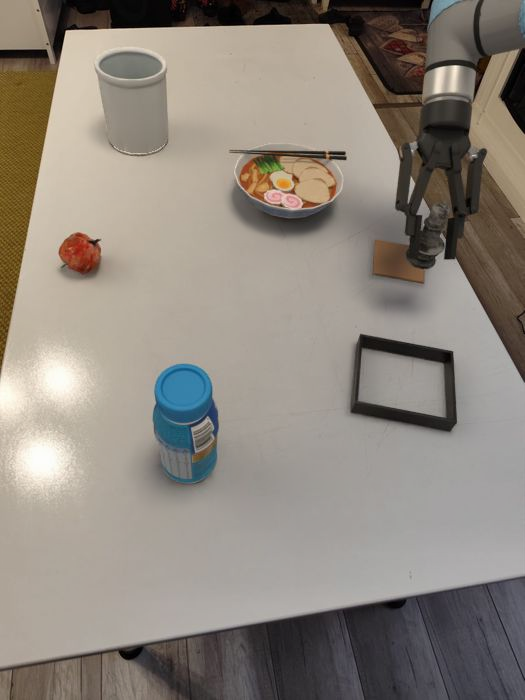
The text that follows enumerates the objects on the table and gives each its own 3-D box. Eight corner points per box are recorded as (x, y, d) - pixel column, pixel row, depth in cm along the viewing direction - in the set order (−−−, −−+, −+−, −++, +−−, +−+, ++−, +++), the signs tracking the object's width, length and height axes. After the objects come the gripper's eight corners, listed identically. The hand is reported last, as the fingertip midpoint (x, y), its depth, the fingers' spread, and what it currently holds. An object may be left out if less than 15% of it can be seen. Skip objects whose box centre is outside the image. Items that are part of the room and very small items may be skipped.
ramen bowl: (226, 235, 105) (227, 202, 98) (228, 167, 118) (229, 134, 112) (347, 241, 107) (356, 210, 100) (336, 174, 120) (343, 142, 114)
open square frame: (446, 361, 91) (453, 351, 88) (450, 431, 82) (457, 422, 80) (356, 344, 91) (360, 333, 89) (350, 412, 83) (354, 402, 81)
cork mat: (422, 249, 107) (423, 247, 107) (423, 283, 101) (424, 281, 101) (374, 240, 108) (375, 238, 107) (372, 274, 102) (373, 272, 101)
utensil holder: (145, 114, 129) (136, 39, 115) (184, 141, 123) (181, 65, 109) (94, 135, 122) (79, 58, 108) (134, 165, 116) (123, 87, 102)
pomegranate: (70, 291, 96) (109, 269, 92) (38, 265, 92) (77, 240, 87) (80, 266, 101) (117, 244, 97) (50, 240, 97) (88, 215, 92)
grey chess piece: (433, 247, 90) (460, 189, 80) (440, 271, 87) (468, 214, 77) (400, 245, 90) (423, 186, 80) (405, 269, 86) (429, 211, 77)
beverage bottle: (157, 485, 73) (142, 417, 57) (162, 431, 78) (150, 355, 62) (217, 486, 74) (218, 418, 58) (218, 432, 79) (220, 357, 63)
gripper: (491, 116, 84) (475, 261, 88) (381, 108, 83) (369, 256, 86) (517, 101, 77) (498, 261, 80) (395, 92, 75) (382, 254, 79)
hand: (431, 258), depth 83 cm, fingers closed on grey chess piece, 5 cm apart
